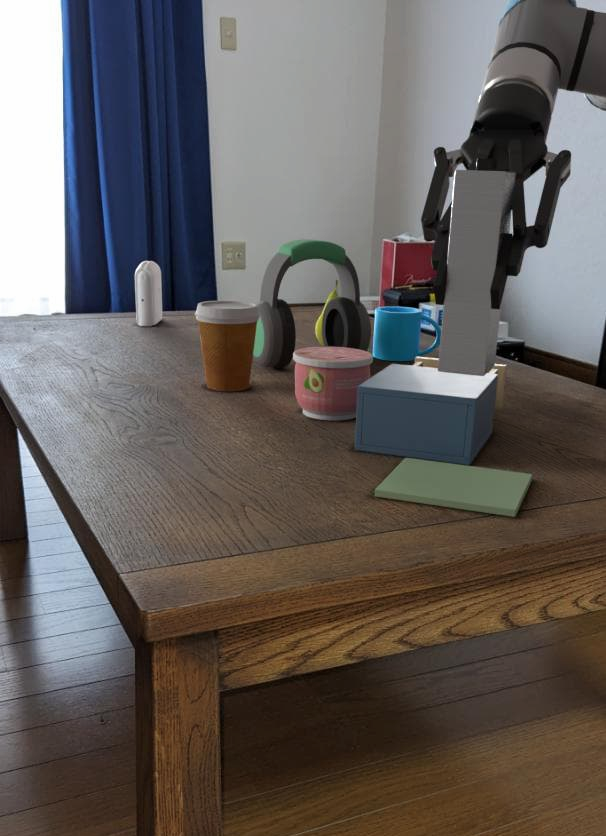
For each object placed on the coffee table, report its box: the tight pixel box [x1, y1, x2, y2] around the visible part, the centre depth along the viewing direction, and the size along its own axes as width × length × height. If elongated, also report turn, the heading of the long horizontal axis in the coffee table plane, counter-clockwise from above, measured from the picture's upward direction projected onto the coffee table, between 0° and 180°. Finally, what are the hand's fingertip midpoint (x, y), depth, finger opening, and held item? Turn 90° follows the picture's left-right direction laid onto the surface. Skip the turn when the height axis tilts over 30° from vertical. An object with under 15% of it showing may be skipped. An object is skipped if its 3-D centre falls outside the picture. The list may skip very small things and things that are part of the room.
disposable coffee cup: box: [194, 300, 260, 392], centre depth 132 cm, size 10×10×12 cm
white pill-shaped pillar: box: [134, 260, 163, 327], centre depth 185 cm, size 10×4×12 cm, turn 178°
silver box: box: [438, 158, 516, 376], centre depth 85 cm, size 4×6×19 cm
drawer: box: [411, 356, 508, 410], centre depth 120 cm, size 18×12×6 cm
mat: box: [374, 457, 533, 518], centre depth 93 cm, size 14×12×1 cm
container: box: [292, 346, 374, 421], centre depth 119 cm, size 10×10×8 cm
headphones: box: [253, 238, 372, 369], centre depth 147 cm, size 19×11×20 cm, turn 114°
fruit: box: [314, 279, 340, 347], centre depth 164 cm, size 6×6×12 cm
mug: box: [372, 305, 441, 362], centre depth 158 cm, size 12×8×8 cm
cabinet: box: [354, 363, 498, 466], centre depth 108 cm, size 15×14×8 cm
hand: (466, 297), depth 82 cm, fingers closed on silver box, 4 cm apart
